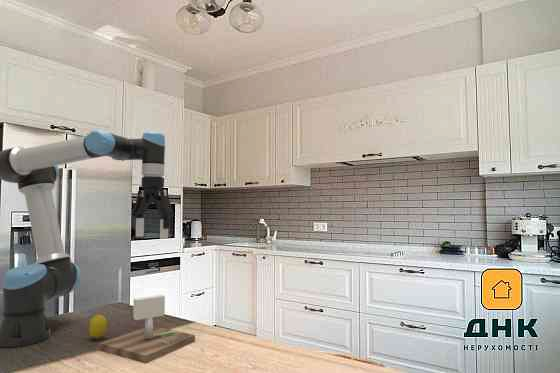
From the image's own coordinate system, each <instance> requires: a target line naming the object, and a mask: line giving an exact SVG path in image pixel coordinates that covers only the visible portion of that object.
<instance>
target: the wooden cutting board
mask: <svg viewBox="0 0 560 373" xmlns="http://www.w3.org/2000/svg"><path fill="white" fill-rule="evenodd" d="M168 331H174V330H173V329H170V328H169V329H168V328H166V327H165V328H164V327H160V326H156V325H155V326H154V325H153V334H158V333H163V332H168ZM193 342H194V343H195V342H196V334H193V333H188V332H183V331H178V330H177V332H174V333H169V334H164V335H159V336H154V337H153V338H152V339H145V327H142V328H140V329H137V330H135V331H132V332H129V333H126V334H123V335H119V336H117V337H115V338H114V337H113V338H111V339H108V340H105V341H103V342H99V344H98V346H99V349H98V350H99V351H101V352H104V353H109V354H112V355H115V356H118V357H119V356H120V357H123V358H127V359H130V360H134V361H136V362H140V363H144V364H147V363H149V362H152V361H155V360H156V359H158V358H160V357H161V358H162V357H163V356H166V355H167V354H170V353H172V352H174V351H176V350H179V349H181V348H183V347H185V346H188V345H190V344H192V343H193Z"/></svg>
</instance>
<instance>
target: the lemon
mask: <svg viewBox="0 0 560 373" xmlns="http://www.w3.org/2000/svg"><path fill="white" fill-rule="evenodd" d="M89 321H90V322H89V324H88V333H89V335H90V336H91V337H92V338H94V339H96V340H100V338H102V337H103V336H105V335H106V333H107V331H108V321H107V319H106V317H105V316H104V315H101V314H99V313H98V314H97V315H95V316H94V317H92V318H91V319H90V320H89Z"/></svg>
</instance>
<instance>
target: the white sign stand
mask: <svg viewBox="0 0 560 373" xmlns="http://www.w3.org/2000/svg"><path fill="white" fill-rule="evenodd" d="M165 301H166V296H165V295H163V294H159V295H158V294H157V295H151V296H144V297H137V298H133V303H132V304H133V308H132V310H133V314H132V316H133V318H132V319H133V320H134V321H140V320H144V328H145V339H152V338H153V337H154V336H159V335H164V334H169V333H174V332H177V331H178V330H177V329H175V330H174V331H168V332H163V333H158V334H153V326H154V318H157V317H163V316H165V315H166V314H165V312H166V311H165V310H166V309H165V308H166V302H165Z"/></svg>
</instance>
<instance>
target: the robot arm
mask: <svg viewBox="0 0 560 373" xmlns="http://www.w3.org/2000/svg"><path fill="white" fill-rule="evenodd" d="M165 153H166V137H165V134H163V133H161V132H158V131H145V132H143V133H142V138H127V137H123V136H120V135H117V134H114V133H110V132H108V131H105V130H99V129H94V130H91V131H90V132H89V133H87V135H86V136H79V137H75V138H71V139H67V140H61V141H57V142H51V143H46V144H40V145H37V146H36V145H35V146H33V147H32V146H31V147H26V148H25V147H24V146H23V147H22V146H16V147H11V148H6V149H4V150H1V151H0V180H1V181H4V182H7V183H11V184H12V183H13V184H16V185H17V187H18V192H19V193H20V194H22V195H24V198H25V203H26V207H27V211H28V213H27V214H28V218H29V222H30V228H31V232H32V238H33V242H34V247H35V252H36V257H37V259H36V260H35V262H34V263H33V264H31V263H30V264H26V265H20V266H16V267H14V268H10V269H9V270H7V271H6V272H5V274H4V275H3V276H4V277H3V278H4V279H3V284H2V288H3V289H2V318H1V321H0V348H16V347H25V346H29V345H34V344H37V343H41V342H44V341H45V340H47V339H48V338H50V337H51V332H52V331H51V329H52V328H51V327H50V323H49V320H48V317H47V315H46V302H47V301H49V300H53V299H56V298H60V297H64V296H66V295H68V294H70V293H72V292H74V291H75V290H76V289H77V288H78V286H79V284H80V282H81V278H82V272H81V268H80V267H79V265H76V263H74V262H72V260H71V256H70V255H69V254H68V253H67V252H65V249H64V244H63V239H62V234H61V230H60V225H59V220H58V216H57V210H56V206H55V201H54V197H53V192H52V191H53V189H54V188H55V187H56V183H55V182H56V181H57V180H58V177H59V176H60V169H59V166H61V165H62V166H63V165H66V164H71V163H76V162H81V161H87V160H91V159H98V158H102V157H110V158H111V159H112V160H114V161H122V162H123V161H141V176H142V177H141V188H143V190H138V191H137V195H136V196H137V197H136V201H135V203H134V206H133V209H132V212H131V216H132V217H134V219H135V237H136V238H139V237H141V238H142V237H144V236H145V235H144V234H145V233H144V232H145V230H144V229H145V228H144V227H145V216H144V215H145V213H146V211H147V210H148V208H149V206H150V205H151V204H154V205H155V207H156V209H157V210H158V212H159V214H160V216H161V217H160V224H159V226H160V228H159V232H160V233H159V239H160V240H163V239H164V240H165V239H169V229H170V220H171V218H174V217H175V215H174V210H173V207H172V204H171V201H170V198H169V190H167V189H163V188H165V178H164V177H163V176H165V158H166V156H165V155H166V154H165Z"/></svg>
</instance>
